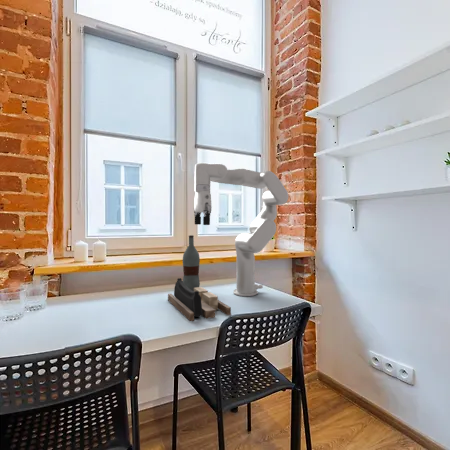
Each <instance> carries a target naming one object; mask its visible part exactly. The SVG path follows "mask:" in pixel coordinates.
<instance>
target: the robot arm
mask: <svg viewBox="0 0 450 450" xmlns="http://www.w3.org/2000/svg"><path fill="white" fill-rule="evenodd" d="M211 182H213V183H218V184H219V183H220V184H225V185H233V186H234V185H235V186H243V187H247V188H252V189H253V188H254V189H259V190H260V189H268V190H266V191H264V193H263V194H262V200H261V201H262V208H261V211H260V212H259V214H258V215H257V216H256V217H255V218H254V220H252V222H251V223H250V225H249V229H248V231H249V233H248V232H242V233H240V234H238V235H237V236H236V238H235V240H234V249H235V254H236V286H235V287H236V288H235V289H234V290H233V294H234V295H236V296H240V297H252V296H256V295H258V293H259V292H258V291H257V290H259V289H263V288H264V287H263V285H262V284H259V285H258V284H255V282H256V281H255V280H256V278H255V277H256V276H255V274H256V272H255V271H256V269H255V268H256V267H255V266H256V257H255V254H258V253H261V252H262V250H263V249H264V248H265V247H266V246H267V245H268V244H269V242H270V241H271V240H272V238H274V236H275V235H276V232H277V225H276V222H275V220H276V219H277V215H278V212H277V206H281V205H282V206H283V205H286V203H287V202H288V200H289V193H288V190H287V189H286V187H285V186H284V185H283V182H282V181H281V180H280V178H279V177H278V176H277V175H276V173H274V171H273V172H272V171H271V170H266V171H262V172H261V171H255V170H250V169H245V168H235V169H228V168H227V166H226V165H225V164H223V163H208V162H198V163H196V164H195V165H194V193H195V194H194V207H193V213H194V214H193V215H194V225H201V224H202V225H204V226H209V225H211V213H212V207H213V206H212V195H211V194H212V193H211ZM202 213H203V217H202V216H201V215H202ZM202 218H203V219H202ZM202 222H203V223H202Z"/></svg>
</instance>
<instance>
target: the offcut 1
mask: <svg viewBox="0 0 450 450" xmlns="http://www.w3.org/2000/svg"><path fill="white" fill-rule="evenodd" d="M195 291H198V292H199V295H200V297H201V300H202V293H208V292H209V290H207V289H206V288H204V287H202V286H199V287H197V288H194V292H195Z"/></svg>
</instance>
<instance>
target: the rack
mask: <svg viewBox="0 0 450 450" xmlns="http://www.w3.org/2000/svg"><path fill="white" fill-rule="evenodd" d="M167 300H168V302H169V303H170V304H172V306H174V307H175V308H176V309H177V310H178V311H179V312H180V313H181V314H182V315H183V316H184V317H185V318H186V319H187V320H188V321H189V322H193V321H195V316H194V313H193V312H192V311H191V310H190V309H189V308H188V307H186V306H185V305H184V304H183V303H182V302H180V301H179V300H178V299H177V298H176V297H175V295H174V294H172V293H168V294H167ZM201 304H202V314H203V315H202V316H201V317H203V318H204V319H213V318H216V310H215V309H213V308H212V307H210V306H209V305H208V304H206V303H205V302H203V301H202V300H201ZM218 310H219V311H221V312H222V313H224V314H225V316H231V314H232V307H231V306H229V305H227V304H226V303H225V302H223V301H221V300H219V299H218Z"/></svg>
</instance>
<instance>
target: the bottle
mask: <svg viewBox="0 0 450 450" xmlns="http://www.w3.org/2000/svg"><path fill="white" fill-rule="evenodd" d="M194 239H195V238H194V235H193V234H191V235H188V246H187V247H186V249H185V250H184V252H183V255H182V270H183V276H182V278H183V279H182V281H183V283H184V284H185V285H186V286H187V287H188V288H189V289H191V290H192V291H194V288H197V287H201V286H200V285H201V280H200V275H199V272H200V263H201V262H200V260H201V259H200V254H199V251H198V250H197V248H196V247H195V244H194V243H195V241H194Z"/></svg>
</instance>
